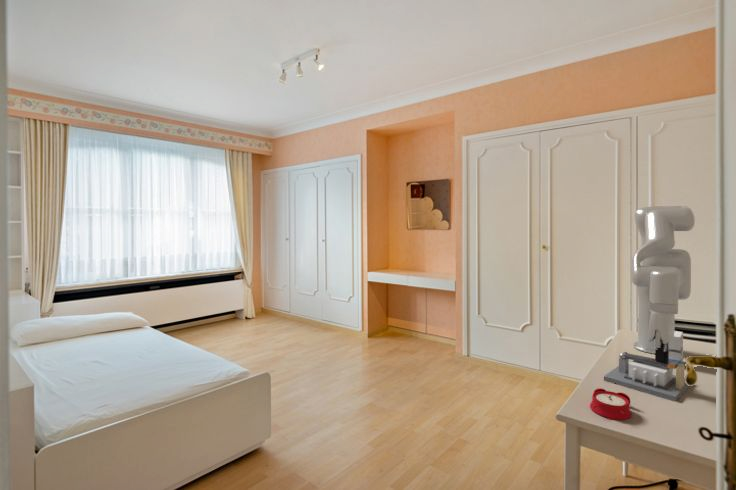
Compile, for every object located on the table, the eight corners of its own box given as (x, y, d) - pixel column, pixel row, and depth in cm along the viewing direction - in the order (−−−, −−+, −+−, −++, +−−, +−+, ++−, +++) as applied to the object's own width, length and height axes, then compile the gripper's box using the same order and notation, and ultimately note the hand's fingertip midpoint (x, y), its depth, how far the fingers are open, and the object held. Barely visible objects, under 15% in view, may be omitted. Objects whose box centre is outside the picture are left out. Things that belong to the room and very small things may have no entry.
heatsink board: (623, 366, 144) (623, 344, 143) (691, 384, 128) (692, 359, 127) (603, 380, 133) (604, 356, 132) (675, 401, 117) (676, 374, 116)
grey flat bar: (619, 358, 135) (619, 353, 135) (623, 355, 137) (623, 351, 137) (674, 369, 122) (674, 365, 122) (678, 366, 124) (678, 362, 124)
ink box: (680, 368, 140) (681, 337, 139) (663, 364, 144) (664, 334, 143) (683, 361, 146) (684, 331, 145) (666, 358, 150) (667, 329, 149)
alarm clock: (588, 404, 110) (592, 374, 122) (588, 422, 112) (593, 391, 124) (631, 414, 104) (632, 382, 116) (631, 432, 106) (631, 399, 118)
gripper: (656, 301, 132) (655, 353, 134) (641, 309, 123) (640, 364, 125) (684, 305, 126) (682, 359, 128) (670, 313, 117) (668, 371, 119)
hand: (661, 361), depth 126 cm, fingers closed
